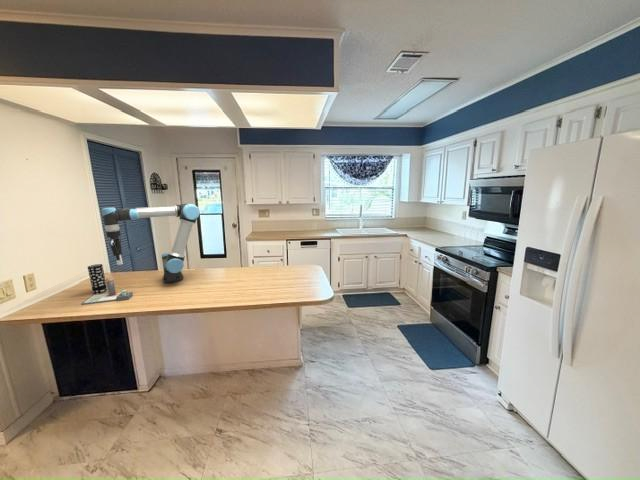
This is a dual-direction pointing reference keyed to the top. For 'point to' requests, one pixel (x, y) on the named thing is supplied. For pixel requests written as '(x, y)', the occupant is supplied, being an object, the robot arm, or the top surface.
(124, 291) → the button
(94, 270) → the spotted tube
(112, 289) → the grey upright cylinder
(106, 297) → the picture board
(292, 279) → the top surface
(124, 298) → the button housing
